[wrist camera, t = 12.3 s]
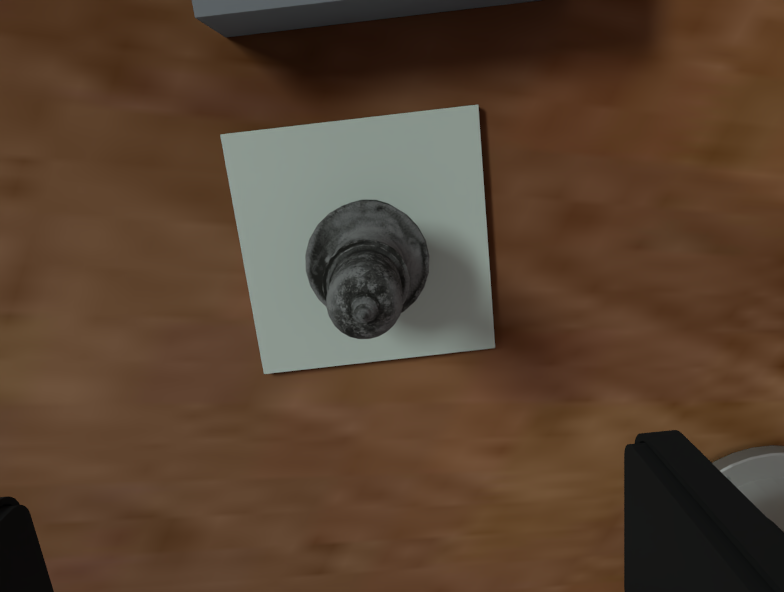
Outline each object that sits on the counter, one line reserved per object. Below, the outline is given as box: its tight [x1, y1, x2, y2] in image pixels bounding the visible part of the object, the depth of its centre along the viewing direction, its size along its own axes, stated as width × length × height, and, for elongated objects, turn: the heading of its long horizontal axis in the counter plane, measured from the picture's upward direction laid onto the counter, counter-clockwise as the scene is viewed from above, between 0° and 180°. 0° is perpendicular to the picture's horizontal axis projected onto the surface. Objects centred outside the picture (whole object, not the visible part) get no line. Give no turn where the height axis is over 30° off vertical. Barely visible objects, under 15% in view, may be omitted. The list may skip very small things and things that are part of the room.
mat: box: [220, 105, 495, 374], centre depth 31 cm, size 13×13×1 cm
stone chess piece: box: [305, 200, 430, 339], centre depth 25 cm, size 6×6×12 cm
